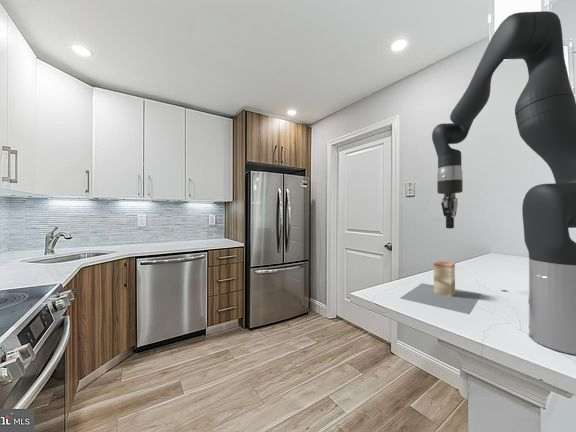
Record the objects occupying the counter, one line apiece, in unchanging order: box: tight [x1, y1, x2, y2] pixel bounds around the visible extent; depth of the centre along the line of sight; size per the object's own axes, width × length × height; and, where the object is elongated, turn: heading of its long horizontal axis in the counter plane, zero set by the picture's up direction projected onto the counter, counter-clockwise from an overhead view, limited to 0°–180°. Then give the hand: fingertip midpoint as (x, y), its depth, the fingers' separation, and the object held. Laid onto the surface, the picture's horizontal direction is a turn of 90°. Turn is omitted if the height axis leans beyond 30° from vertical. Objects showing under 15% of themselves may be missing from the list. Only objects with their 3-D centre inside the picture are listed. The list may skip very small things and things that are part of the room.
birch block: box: [433, 260, 456, 297], centre depth 82 cm, size 5×5×10 cm
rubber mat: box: [399, 283, 482, 315], centre depth 79 cm, size 18×22×1 cm
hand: (450, 228), depth 87 cm, fingers closed
